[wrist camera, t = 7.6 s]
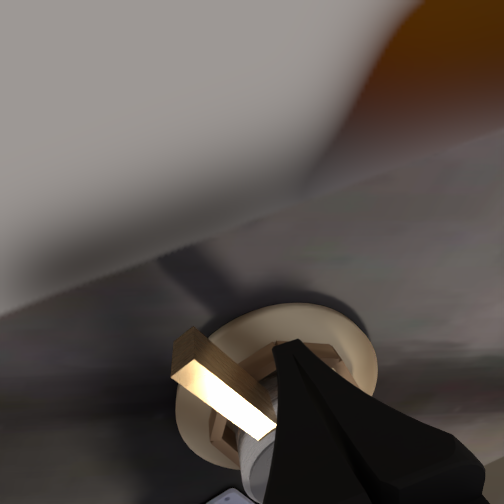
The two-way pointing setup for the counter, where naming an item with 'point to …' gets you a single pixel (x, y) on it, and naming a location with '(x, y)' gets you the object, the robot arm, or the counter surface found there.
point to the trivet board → (273, 366)
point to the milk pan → (232, 402)
